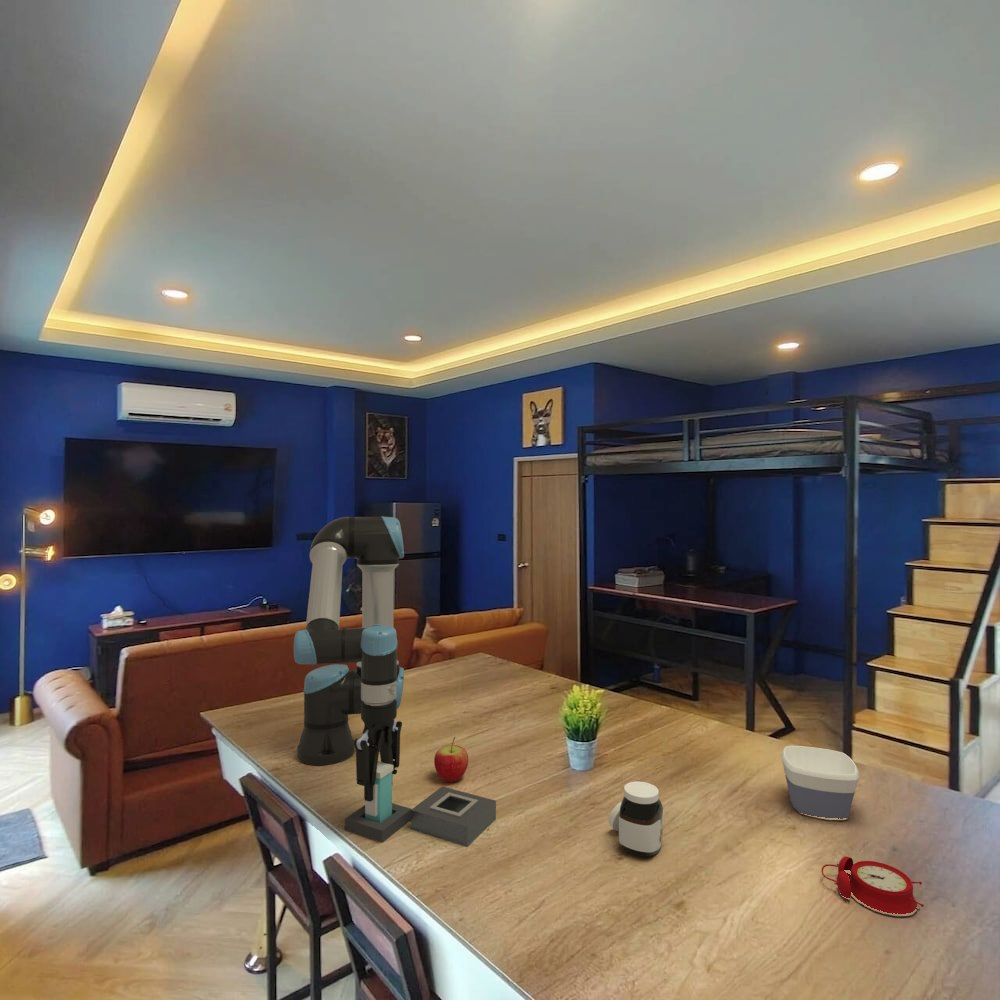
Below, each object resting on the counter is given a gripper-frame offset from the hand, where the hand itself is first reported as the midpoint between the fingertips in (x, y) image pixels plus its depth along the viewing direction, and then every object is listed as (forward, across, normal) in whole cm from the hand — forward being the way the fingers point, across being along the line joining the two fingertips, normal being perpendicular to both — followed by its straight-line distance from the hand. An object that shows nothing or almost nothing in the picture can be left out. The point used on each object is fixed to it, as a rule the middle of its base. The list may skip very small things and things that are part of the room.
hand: (378, 808), depth 131 cm
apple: (+4, +25, -2) cm, 26 cm away
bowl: (+4, +53, -83) cm, 99 cm away
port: (+3, +8, -14) cm, 17 cm away
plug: (+3, 0, 0) cm, 3 cm away
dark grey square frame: (+3, 0, 0) cm, 3 cm away
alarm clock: (+4, +23, -92) cm, 94 cm away
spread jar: (+4, +20, -50) cm, 54 cm away
